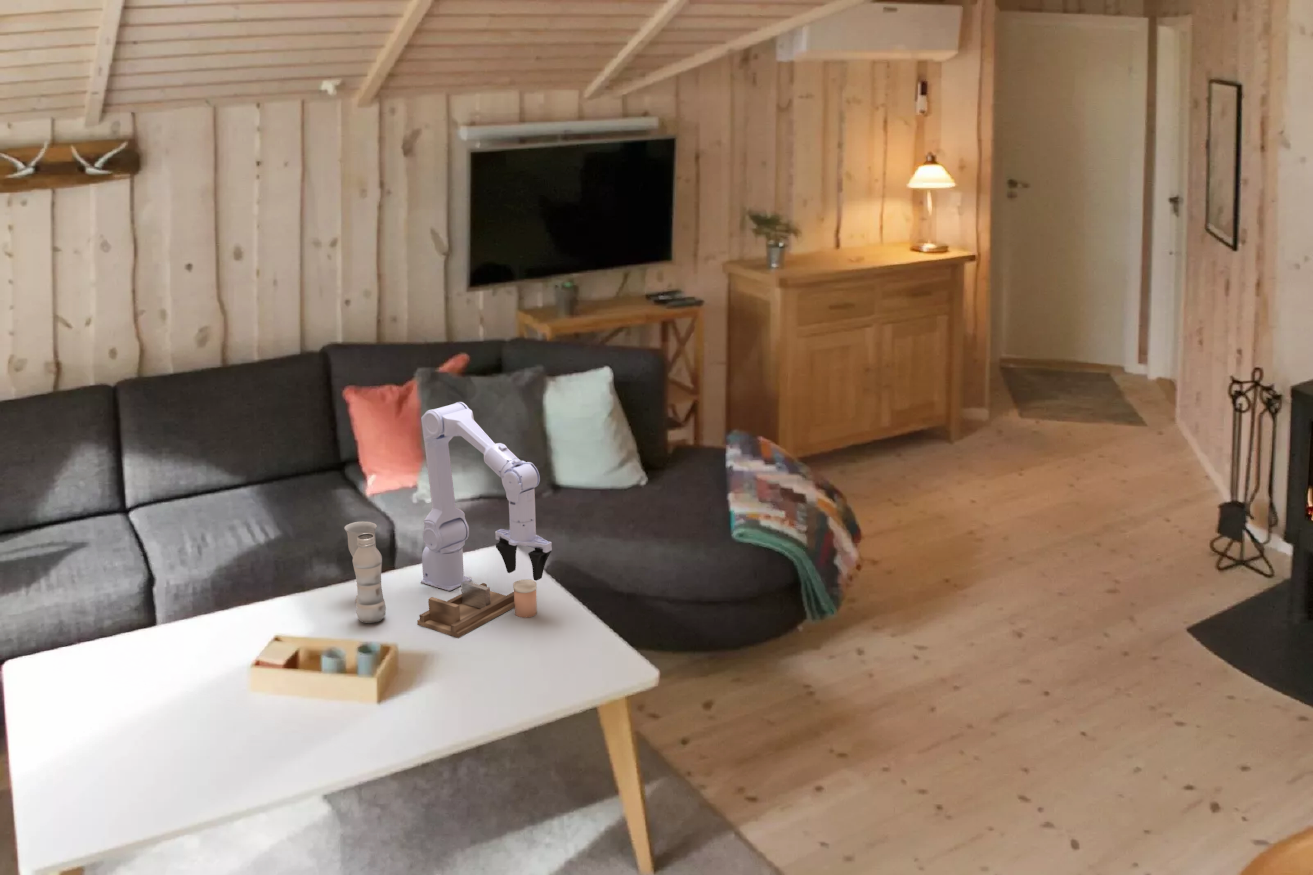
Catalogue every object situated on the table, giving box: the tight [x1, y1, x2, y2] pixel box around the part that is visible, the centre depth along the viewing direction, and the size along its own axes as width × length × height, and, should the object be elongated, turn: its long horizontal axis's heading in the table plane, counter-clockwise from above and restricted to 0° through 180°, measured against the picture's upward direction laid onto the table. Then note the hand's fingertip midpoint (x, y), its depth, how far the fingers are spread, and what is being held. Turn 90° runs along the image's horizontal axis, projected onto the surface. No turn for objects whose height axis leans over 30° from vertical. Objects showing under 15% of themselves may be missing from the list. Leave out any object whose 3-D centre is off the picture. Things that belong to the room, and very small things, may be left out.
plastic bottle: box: [352, 533, 387, 624], centre depth 290 cm, size 6×7×20 cm
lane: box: [416, 582, 515, 639], centre depth 295 cm, size 12×21×6 cm, turn 146°
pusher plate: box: [460, 581, 491, 609], centre depth 297 cm, size 7×2×5 cm, turn 56°
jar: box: [512, 579, 538, 618], centre depth 296 cm, size 5×5×7 cm
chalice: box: [344, 521, 378, 604], centre depth 301 cm, size 7×7×18 cm
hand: (524, 575), depth 294 cm, fingers open, 7 cm apart
